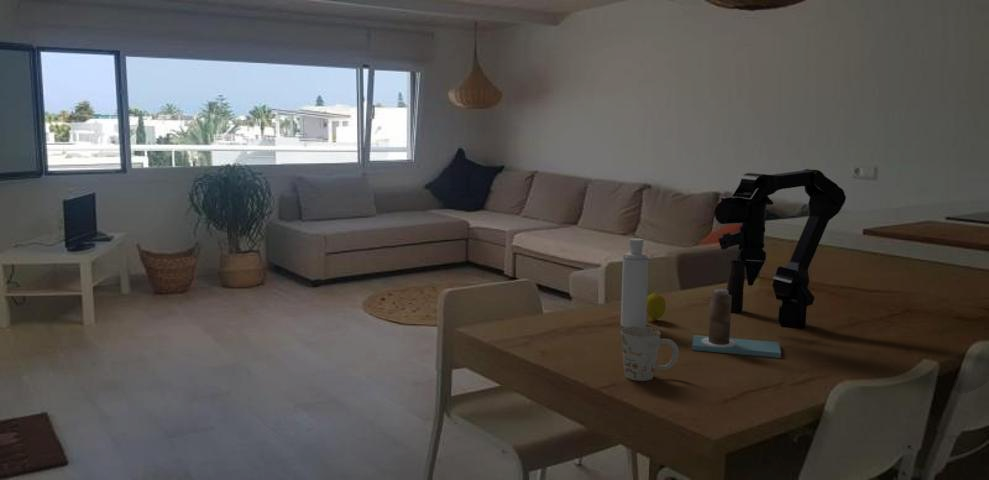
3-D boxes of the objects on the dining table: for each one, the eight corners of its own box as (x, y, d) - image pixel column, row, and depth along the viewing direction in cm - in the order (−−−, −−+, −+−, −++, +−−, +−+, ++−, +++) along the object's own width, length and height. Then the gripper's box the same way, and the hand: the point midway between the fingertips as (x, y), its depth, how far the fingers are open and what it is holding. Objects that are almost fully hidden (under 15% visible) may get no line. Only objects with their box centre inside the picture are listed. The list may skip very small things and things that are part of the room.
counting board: (778, 347, 183) (778, 341, 183) (780, 358, 175) (781, 352, 175) (693, 339, 189) (693, 334, 189) (691, 349, 181) (692, 344, 180)
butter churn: (725, 316, 213) (730, 217, 208) (707, 307, 222) (712, 213, 217) (754, 314, 215) (760, 216, 210) (735, 306, 224) (741, 212, 219)
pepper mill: (724, 338, 185) (727, 288, 183) (732, 344, 180) (735, 292, 178) (705, 339, 185) (708, 288, 183) (712, 344, 180) (715, 293, 178)
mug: (615, 370, 165) (616, 326, 164) (671, 369, 166) (673, 325, 165) (624, 383, 157) (626, 337, 155) (683, 382, 158) (685, 336, 157)
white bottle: (633, 321, 206) (637, 230, 202) (651, 326, 201) (655, 233, 197) (615, 324, 203) (618, 232, 199) (632, 330, 197) (636, 235, 193)
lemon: (665, 323, 204) (666, 295, 202) (644, 322, 205) (645, 293, 204) (664, 318, 209) (666, 290, 208) (644, 317, 210) (645, 289, 209)
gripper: (721, 216, 205) (717, 273, 207) (720, 225, 187) (716, 287, 190) (764, 218, 202) (760, 275, 204) (768, 227, 184) (763, 290, 186)
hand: (749, 281), depth 196 cm, fingers open, 9 cm apart
